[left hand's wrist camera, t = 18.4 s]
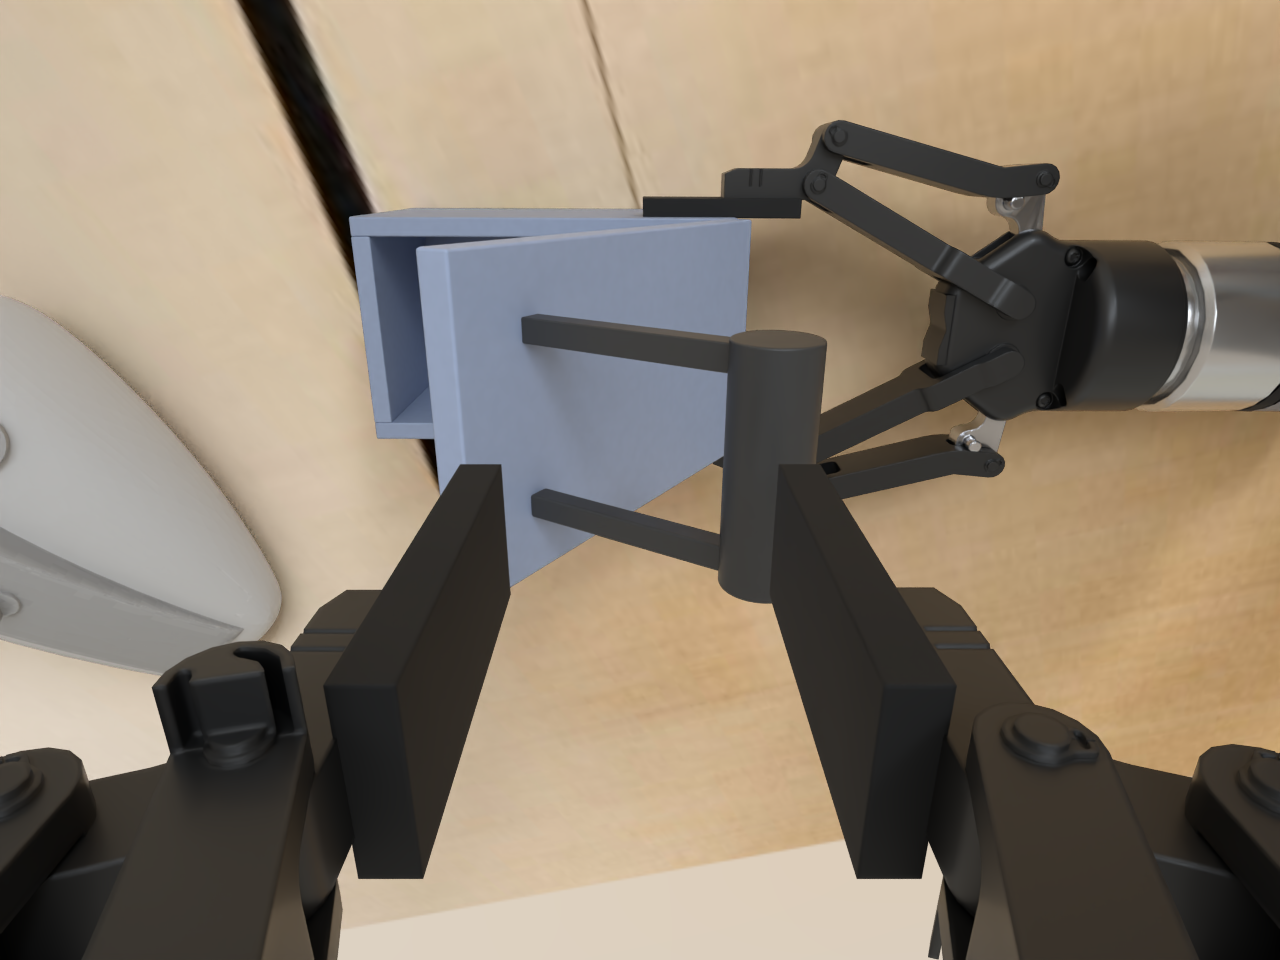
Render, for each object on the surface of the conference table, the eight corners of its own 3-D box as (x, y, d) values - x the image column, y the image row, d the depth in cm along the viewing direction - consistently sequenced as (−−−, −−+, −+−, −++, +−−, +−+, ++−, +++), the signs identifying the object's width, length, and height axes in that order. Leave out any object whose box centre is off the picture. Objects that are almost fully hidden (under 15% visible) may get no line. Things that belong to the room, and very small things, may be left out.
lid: (448, 599, 21) (747, 715, 17) (413, 246, 18) (777, 272, 13) (718, 442, 34) (930, 484, 30) (728, 218, 31) (970, 226, 26)
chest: (429, 386, 43) (376, 439, 34) (411, 208, 40) (348, 216, 31) (710, 387, 43) (728, 440, 34) (717, 209, 40) (738, 218, 31)
